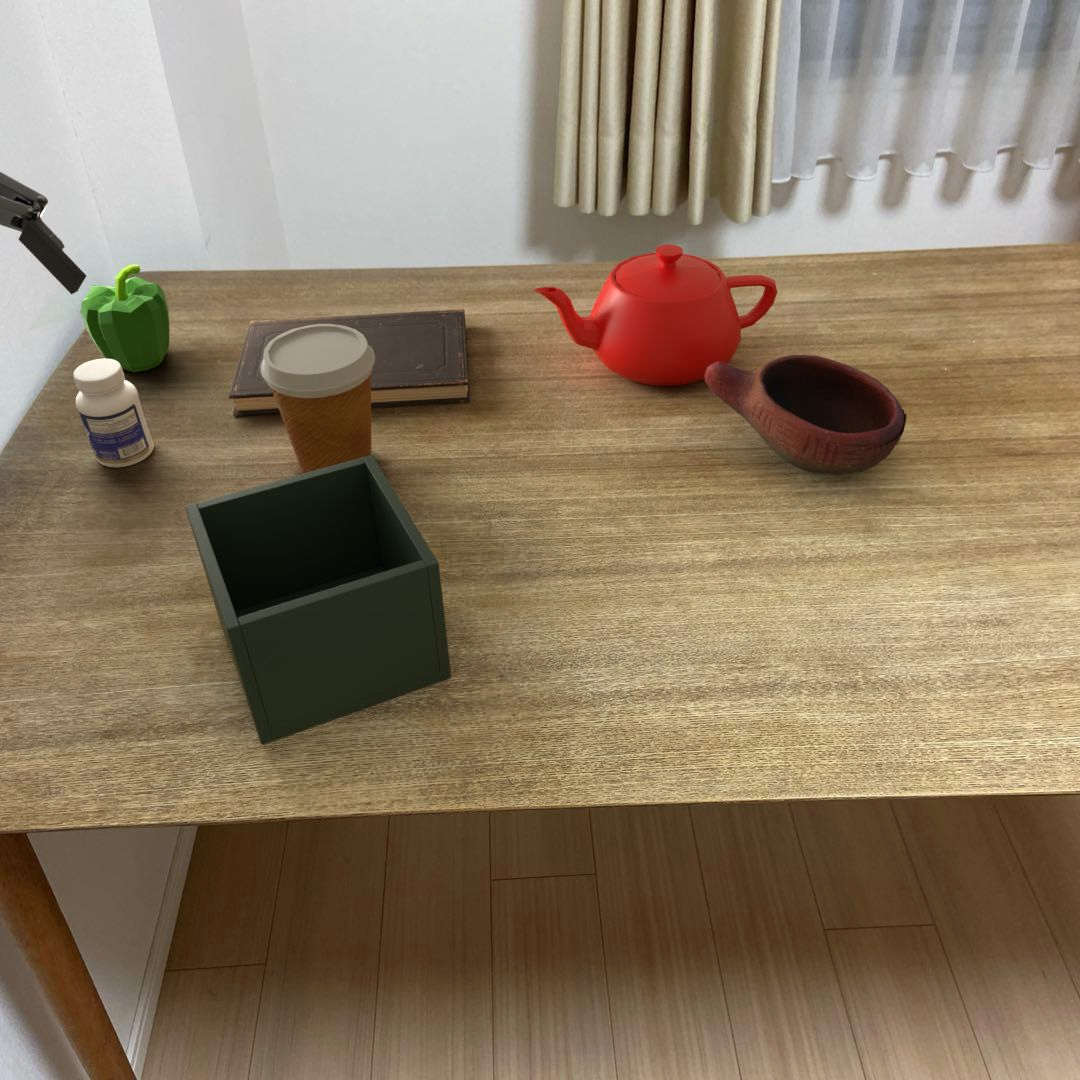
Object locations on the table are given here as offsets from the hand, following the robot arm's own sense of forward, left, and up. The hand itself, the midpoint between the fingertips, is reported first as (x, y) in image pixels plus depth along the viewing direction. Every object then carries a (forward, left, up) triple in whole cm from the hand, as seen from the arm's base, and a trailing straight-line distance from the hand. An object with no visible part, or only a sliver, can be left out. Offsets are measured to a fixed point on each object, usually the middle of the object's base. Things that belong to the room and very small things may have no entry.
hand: (22, 317), depth 89 cm
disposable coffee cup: (+22, -17, -12) cm, 30 cm away
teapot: (+57, -14, -12) cm, 60 cm away
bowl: (+60, -35, -12) cm, 70 cm away
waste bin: (+15, -39, -12) cm, 43 cm away
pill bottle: (+5, -6, -12) cm, 15 cm away
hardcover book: (+29, -1, -12) cm, 31 cm away
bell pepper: (+9, +11, -12) cm, 19 cm away
